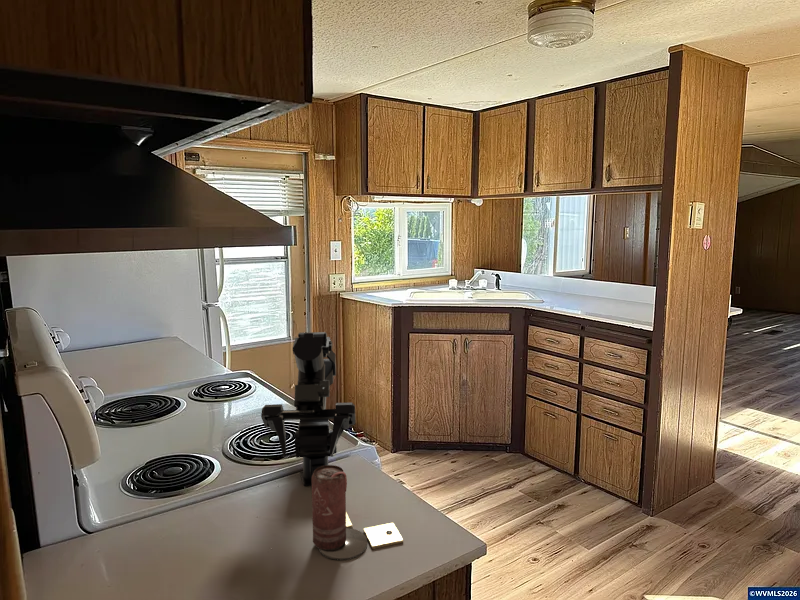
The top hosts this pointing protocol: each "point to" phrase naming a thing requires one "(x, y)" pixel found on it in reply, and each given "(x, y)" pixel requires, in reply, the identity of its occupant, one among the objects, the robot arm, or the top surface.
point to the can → (329, 507)
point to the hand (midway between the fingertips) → (307, 455)
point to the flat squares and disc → (364, 540)
